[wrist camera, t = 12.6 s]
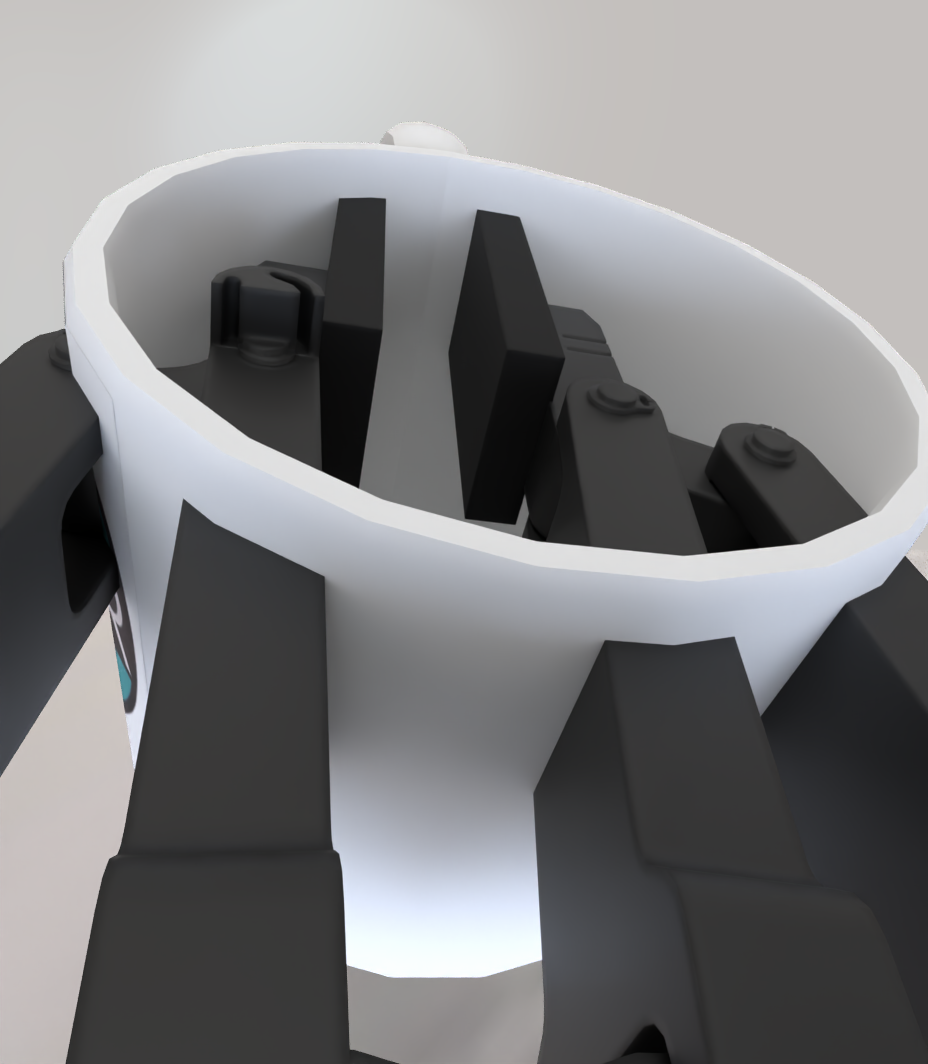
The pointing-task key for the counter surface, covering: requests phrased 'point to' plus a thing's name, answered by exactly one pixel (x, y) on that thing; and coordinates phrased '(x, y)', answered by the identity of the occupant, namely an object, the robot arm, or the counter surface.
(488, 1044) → the counter surface
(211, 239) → the mug
